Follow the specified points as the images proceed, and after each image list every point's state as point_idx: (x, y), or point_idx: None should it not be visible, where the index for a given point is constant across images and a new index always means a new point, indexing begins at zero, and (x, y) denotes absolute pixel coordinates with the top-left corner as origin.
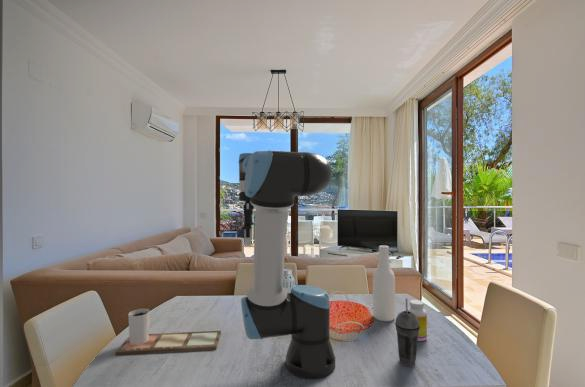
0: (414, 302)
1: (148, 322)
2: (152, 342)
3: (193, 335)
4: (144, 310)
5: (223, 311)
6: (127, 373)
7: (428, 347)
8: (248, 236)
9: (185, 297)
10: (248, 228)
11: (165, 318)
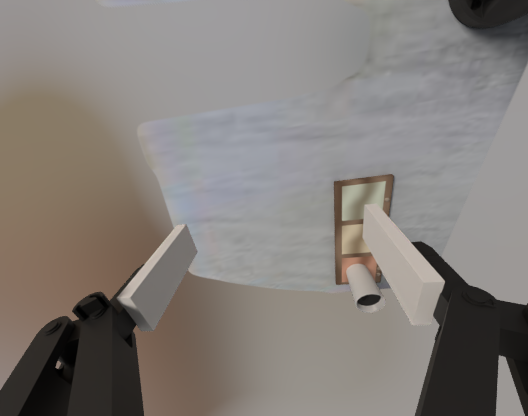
0: None
1: (366, 281)
2: (363, 257)
3: (349, 217)
4: (356, 300)
5: (244, 198)
6: None
7: None
8: (428, 253)
9: (194, 267)
10: (507, 309)
11: (277, 267)
